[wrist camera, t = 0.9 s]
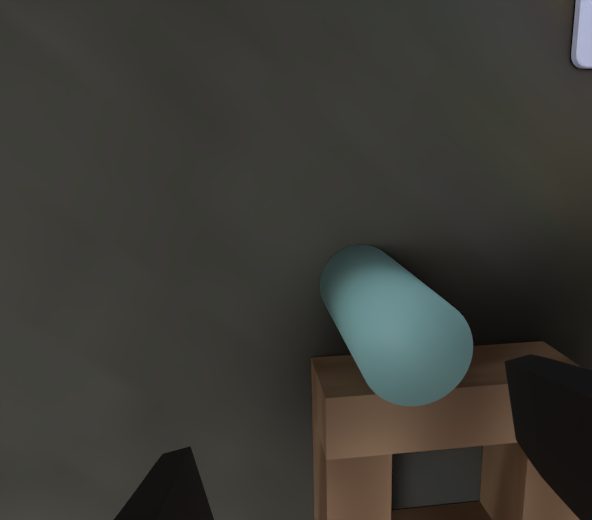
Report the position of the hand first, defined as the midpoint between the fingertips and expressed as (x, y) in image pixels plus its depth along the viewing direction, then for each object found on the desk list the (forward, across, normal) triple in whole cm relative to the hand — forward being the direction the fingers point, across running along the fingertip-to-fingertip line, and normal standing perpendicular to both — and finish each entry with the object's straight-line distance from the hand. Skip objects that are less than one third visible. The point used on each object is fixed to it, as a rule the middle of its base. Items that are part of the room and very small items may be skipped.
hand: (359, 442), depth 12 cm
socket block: (+10, -4, +8) cm, 13 cm away
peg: (+10, -2, 0) cm, 10 cm away
